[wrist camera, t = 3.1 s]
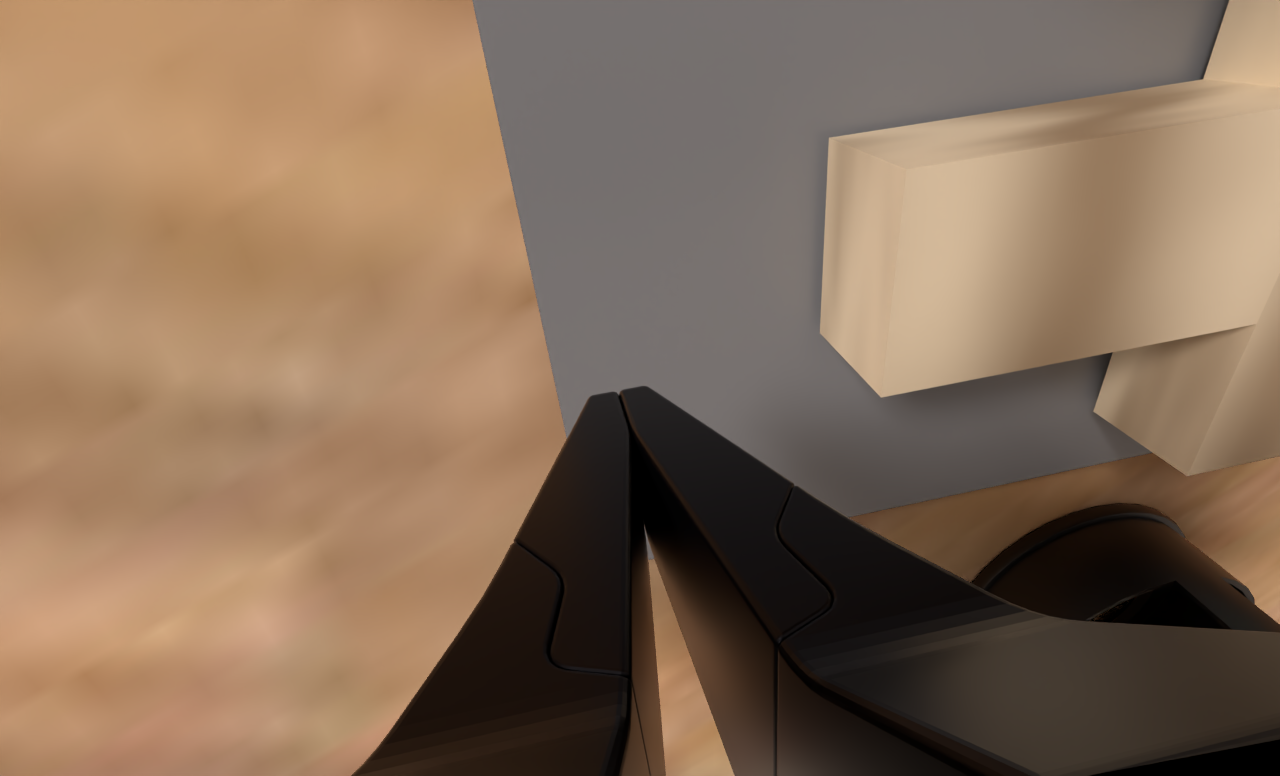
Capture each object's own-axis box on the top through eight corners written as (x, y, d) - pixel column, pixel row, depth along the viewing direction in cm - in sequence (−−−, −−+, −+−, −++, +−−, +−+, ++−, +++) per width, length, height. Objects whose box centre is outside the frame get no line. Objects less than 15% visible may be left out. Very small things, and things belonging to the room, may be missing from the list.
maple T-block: (1481, -201, 12) (1775, -264, 9) (1222, 378, 19) (1345, 442, 16) (833, -125, 11) (944, -171, 8) (809, 462, 18) (864, 546, 15)
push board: (2180, -431, 13) (2298, -462, 12) (1583, 339, 22) (1625, 352, 22) (417, -271, 10) (408, -297, 9) (591, 546, 19) (595, 571, 18)
